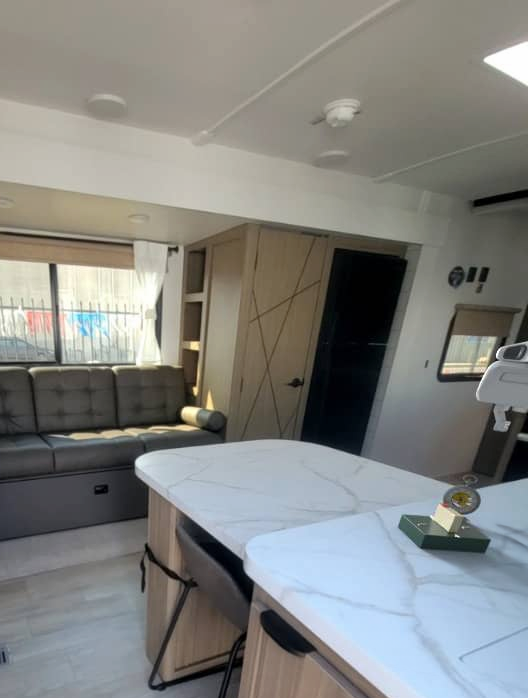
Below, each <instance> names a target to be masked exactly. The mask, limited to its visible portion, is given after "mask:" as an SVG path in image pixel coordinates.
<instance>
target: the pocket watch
mask: <svg viewBox="0 0 528 698" xmlns="http://www.w3.org/2000/svg"><path fill="white" fill-rule="evenodd" d="M466 477H473V478H474V479H475V481H472V479H470V478H469V479H468V480H466V479H465V478H466ZM462 480H463V481H464V482H465V484H466V485H464V484H463V485H462V484H461V485H460V484H459V485H455V486H453V487H450V488H448V489H447V490H446V491H445V493H444V494H443V497H442V504H448V505H449V506H450V507H451V508H452V509H454V510H455V511H457V512H458V513H459V514H461V515H462V516H464V518H463V520H464V521H466V522H467V523H469V524H470V525H471V520H470V519H469V518H468V517H466V516H465V515H469V514H470V515H471V514H473V513H474V512H476V511H477V510H478V509H479V508H480V505H481V502H482V497H481V494H480V493H479V492H478V491H477V490H476V488H473V487H472V486H470V485H473V484H476V483H478V481H479V478H478V477H477V476H475V475H472V474H467V475H464V476H463V477H462ZM457 505H458V506H457ZM434 515H435V512H434V513H433V516H434Z"/></svg>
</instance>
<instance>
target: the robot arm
mask: <svg viewBox="0 0 528 698" xmlns="http://www.w3.org/2000/svg"><path fill="white" fill-rule="evenodd" d="M495 357H496V359H497V361H494V362H493V363H491V364H490V365H489V367H487V369H486V371H485V372H484V374H483V375H482V378H481V380H480V382H479V384H478V387H477V389H476V393H475V397H476V400H477V401H478V402H483V403H488V404H493V405H494V408H493V409H492V410H493V415H494V418H495V424H494V426H493V431H496V432H502V433H504V432H507V431H508V429H509V426H510V425H511V423H512V422H511V421H508V420H507V417H506V412H508V411H509V410H510V408H511V407H513V408H518V409H524V410H528V341H523V342H519V343H514V344H509V345H508V344H507V345H504V346H501V347H499V348H498V350H497V352H496V355H495Z"/></svg>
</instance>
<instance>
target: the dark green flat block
mask: <svg viewBox="0 0 528 698" xmlns="http://www.w3.org/2000/svg"><path fill="white" fill-rule="evenodd" d="M433 517H434V514H430V515H420V514H419V515H417V514H406V513H405V514H404V513H403V514H401V516H400V519H399V522H398V525H397V528H398V529H399V530H400V531H401V532H402V533H403V534H405V535H406V537H407V538H408V539H409V540H411V541H412V543H414V544H415V545H416V547H418V548H419V549H426V550H436V551H437V550H439V551H450V552H451V551H452V552H465V553H477V554H478V553H479V554H486V552H487V550H488V548H489V546H490V544H491V541H492V538H490V537H488V536H487V535H486V534H484V533H482V532H481V531H480V530H478V529H477V528H476V527H474V526H473V525H472V524H471V523H470V524H469V523H467V522H466V521H464V520H462V522H461V525H460V527H459V529H458V532H457V533H454V532H448V531H447V530H445V529H444V528H443V527H442V526H440V525H439V524H438V523H437V522H435V521H434V520H433Z"/></svg>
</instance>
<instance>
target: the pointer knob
mask: <svg viewBox="0 0 528 698" xmlns="http://www.w3.org/2000/svg"><path fill="white" fill-rule="evenodd" d="M434 513H435V515H434V514H433V516H434V517H433V520H434V521H435V522H437V523H438V524H439V525H440V526H442V527H443V528H444V529H445V530H447V531H448V532H454V533H457V532H458V529H459V527H460V525H461V522H462V520H463V518H464V517H465V515H461V514H459V513H458V512H457V511H455V510H454V509H452V508H451V507H450V506H449V505H448V504H443V502H441V503H439V504H438V505H437V507H436V509H435V512H434Z"/></svg>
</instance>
